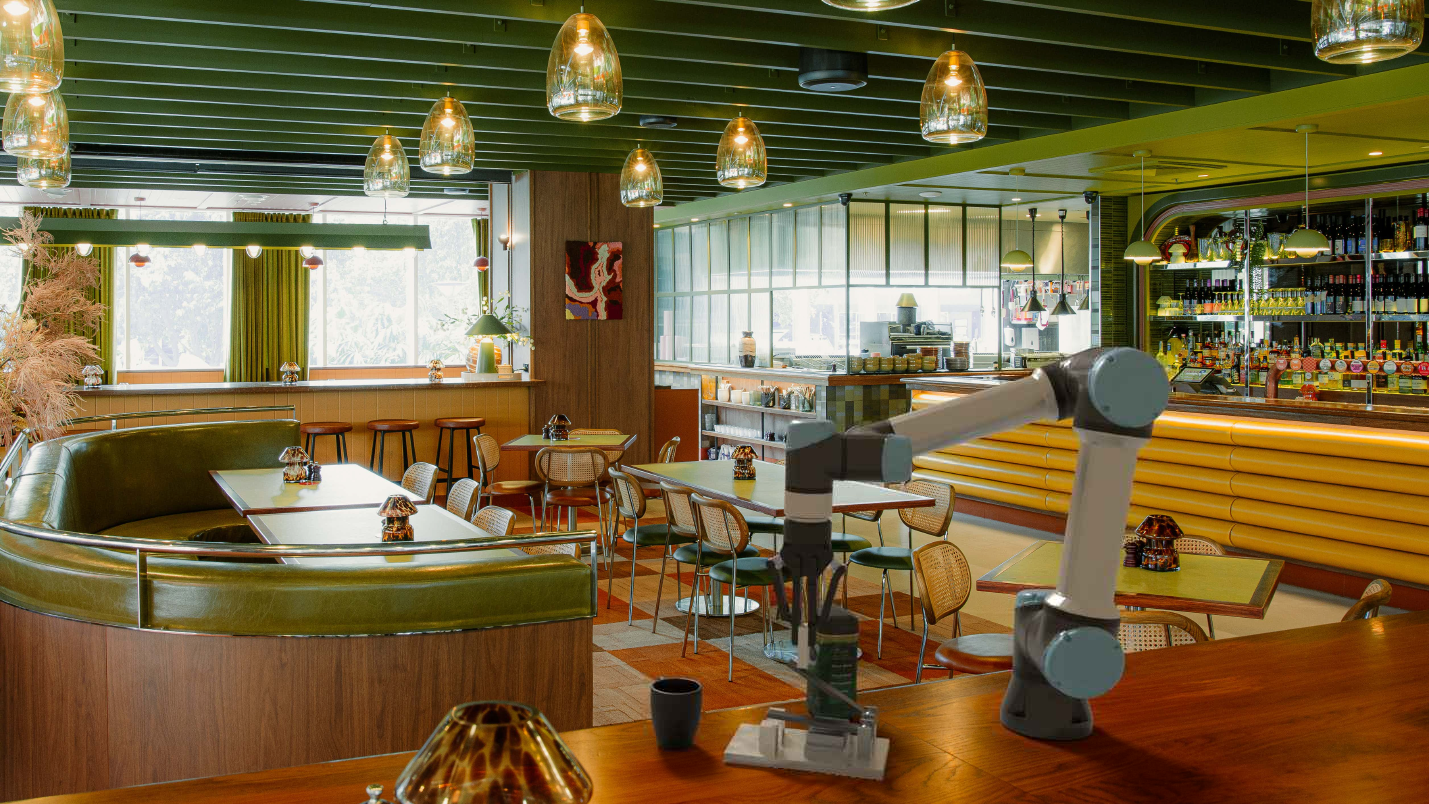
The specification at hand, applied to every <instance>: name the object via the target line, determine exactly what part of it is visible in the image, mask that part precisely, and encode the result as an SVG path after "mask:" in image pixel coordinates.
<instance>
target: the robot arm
mask: <svg viewBox="0 0 1429 804" xmlns="http://www.w3.org/2000/svg"><path fill="white" fill-rule="evenodd" d="M1170 397H1171V382H1170V378H1169V375H1168V373H1167V371H1166V369H1165V368H1164V367H1163V365H1162V363H1161V362H1159V360H1158V359H1157V358H1155V357H1154V356H1152V354H1150V353H1148V352H1145V351H1143V350H1140V349H1138V348H1134V347H1130V346H1095V347H1089V348H1086V349H1085V350H1081V351H1079V352H1076V353H1074V354H1071V355H1069V356H1067V357H1064V358H1062V359H1058V360H1055V361H1054V362H1051V363H1047V364H1044V365H1041V366H1037V367H1035V368H1034V370H1033V372H1032V374H1031V375H1030V376H1025V377H1023V378H1022V377H1021V378H1019V379H1016V380H1013V381H1010V382H1005V383H1003V384H1000V385H996V386H993V387H990V388H986V389H983V390H982V389H981V390H979V391H975V392H973V393H969V394H967V395H964V396H959V397H957V398H952V399H950V400H946V401H943V402H940V403H937V404H933V405H928V406H926V407H923V408H920V409H916V410H913V411H909V412H906V413H903V414H900V415H896V416H893V417H890V418H888V419H883V420H881V421H877V422H874V423H870V424H859V425H855V426H853V427H850V428H849V429H848V430H847V431H846V432H845V433H843V432H837V430H836V424H835V422H834V421H833V420H831V419H830V420H829V419H823V418H822V419H819V418H818V419H817V418H796V419H793V420H791V421H790V422H789V423H788V424H787V432H786V433H787V434H786V444H785V472H784V473H785V474H784V475H785V477H784V500H783V501H784V502H783V503H784V504H783V514H784V515H785V516H786V517H785V518H784V520H783V535H782V537H783V538H782V540H783V542H782V546H781V547H780V550H779V553H778V554H776V555H775V556H773V557H769V558H768V559H767V560H766V561H765V566H766V568H767V570H768V571H769V573H770V575H771V579H772V583H773V584H772V585H773V590H774V594H775V598H776V602H777V607H778V613H779V618H780V620H781V621H782V622H787V623H789V624H790V625H791V635H790V636H791V638H790V639H791V641H790V642H791V645H792V646H797V659H796V660H797V661H796V663H797V668H804V669H807V670H808V665H809V652H810V647H814V646H815V644H816V642H817V626H818V625H821V624H826V623H827V621H828V619H829V616H830V613H831V609H832V606H833V604H834V602H835V598H836V594H837V591H838V588H839V584H840V580H841V578H842V576H843V575H844V574H845V573H846V571H847V569H848V564H847V563H846V562H841V561H840V560H838V559H837V558H836V557H835V553H834V552H835V551H834V550H833V548H832V530H833V522H832V521H831V519H830V517H832V516H833V502H834V501H833V497H834V495H833V494H834V481H835V482H860V483H861V482H862V483H863V482H865V483H882V484H883V483H885V484H888V485H889V484H891V483H892V484H894V483H906V482H908V481H909V479H910V477H911V475H912V472H913V471H912V469H913V459H914V458H917V457H921V456H925V455H929V454H931V453H934V452H937V451H942V450H945V449H948V448H952V447H955V446H958V445H962V444H964V443H969V442H972V441H975V440H978V439H983V438H985V437H989V436H992V435H996V434H999V433H1002V432H1005V431H1009V430H1012V429H1016V428H1019V427H1023V426H1025V425H1030V424H1032V423H1037V422H1039V421H1044V420H1047V421H1049V422H1051V423H1053V424H1054V423H1057V422H1061V421H1064V420H1065V421H1066V420H1067V419H1068V420H1069V419H1073V421H1072V426H1071V427H1072V428H1071V429H1072V430H1073V432H1074V433H1075V434H1076V436H1077V437H1078V439H1079V441H1080V442H1079V447H1078V454H1077V460H1076V466H1075V472H1074V478H1073V485H1072V489H1071V497H1070V501H1069V502H1070V503H1069V508H1068V514H1067V515H1068V516H1067V521H1066V527H1065V531H1064V533H1065V534H1064V539H1063V547H1062V552H1061V558H1060V564H1059V570H1058V577H1057V583H1056V588H1055V589H1047V588H1046V589H1042V588H1041V589H1039V588H1038V589H1037V588H1035V589H1031V588H1030V589H1024V590H1021V591H1018V592H1017V594H1016V597H1015V601H1014V603H1015V604H1014V607H1013V611H1014V614H1013V615H1014V617H1013V648H1012V672H1011V678H1010V681H1009V684H1008V686H1007V689H1006V691H1005V694H1004V696H1003V699H1002V701H1001V704H1000V710H999V711H1000V712H999V721H1000V723H1001V724H1002V725H1003V726H1004V727H1006V728H1007V729H1009V730H1011V731H1013V732H1015V733H1018V734H1022V735H1025V736H1027V737H1031V738H1036V739H1042V740H1048V741H1049V740H1050V741H1072V740H1074V741H1075V740H1080V739H1084V738H1086V737H1089V736H1090V735H1091V734H1092V733H1093V730H1094V729H1093V728H1094V717H1093V716H1094V715H1093V713H1092V709H1091V705H1090V702H1089V699H1094V698H1097V697H1100V696H1102V695H1104V694H1106V693H1107V692H1109V691H1110V690H1112V689H1113V688H1114V687H1115V686H1116V685H1117V683H1118V682H1119V681H1120V679H1121V678H1122V675H1123V673H1124V669H1125V665H1126V664H1125V662H1126V659H1125V654H1124V651H1123V650H1124V649H1123V647H1122V644H1121V642H1120V641H1119V640H1118V639H1119V632H1120V627H1121V620H1122V614H1123V613H1122V612H1121V610H1120V609H1119V608H1118V607H1117V605H1116V604H1115V601H1114V599H1115V592H1116V588H1117V582H1118V581H1117V580H1118V576H1119V569H1120V563H1121V557H1122V551H1123V544H1124V539H1125V532H1126V527H1127V520H1128V516H1129V507H1130V502H1131V498H1132V497H1131V496H1132V491H1133V485H1134V479H1135V478H1134V477H1135V473H1136V466H1137V460H1138V454H1139V451H1140V449H1141V448H1142V447H1144V446H1145V445H1147V444H1148V443H1149V442H1151V440H1152V435H1153V429H1154V425H1155V423H1154V422H1155V420H1157V419H1158V418H1159V417H1160V416H1161V415H1162V414H1163V413H1164V411H1165V410H1166V409H1167V405H1168V403H1169V400H1170ZM782 562H783V563H784V565H785V567H786V568H787V569H788V571H789V572H790V574H791V575H792V576H791V577H792V579H791V581H792V590H791V591H792V592H791V593H792V598H791V608H790V606H789V605H790V604H789V600H788V596H787V590H786V586H785V582H784V576H783V572H782V567H783V563H782ZM829 566H831V568H830V573H831V574H832V576H831V578H830V581H829V584H828V588H827V591H826V595H825V599H824V602H823V604H822V605H823V609H822V613H821V615H818V605H819V592H820V591H819V587H820V586H819V585H820V576H821V575H822V574H823V573H824V572H825V570H826V569H827V568H828V567H829ZM804 577H806V578H808V607H807V622H802V620H803V617H802V611H803V609H802V608H803V586H804V585H803V584H804V583H803V580H804ZM790 609H791V611H790Z"/></svg>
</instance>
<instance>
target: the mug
mask: <svg viewBox="0 0 1429 804" xmlns="http://www.w3.org/2000/svg"><path fill="white" fill-rule="evenodd" d="M649 695H650V699H649V701H650V703H649V704H650V705H649V706H650V716H651V721H652V726H653V730H654V734H655V737H656V742H657V746H658V747H659V748H660V749H662V750H666V751H672V752H679V751H685V750H689V749H690V748H692V747H693V745H694V741H695V738H696V735H697V732H698V729H699V724H700V720H701V715H702V708H703V685H702V683H701V682H700V681H697V680H696V679H690V678H685V677H667V676H665V675H659V676H658V677H657V680H655V681H653V682H652V683H651V684H650V694H649Z"/></svg>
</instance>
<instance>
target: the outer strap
mask: <svg viewBox="0 0 1429 804" xmlns="http://www.w3.org/2000/svg"><path fill="white" fill-rule="evenodd" d="M768 710H769V711H768ZM768 710H767V712H768V713H767V712H766V719H767V718H771V719H777V720H783V721H785V722H789V723H790V722H791V723H794V724H795V723H796V724H800V725H801V724H802V725H806V726H810V725H811V726H817V727H823V728H828V729H834V730H840V731H845V732H851V733H850V734H852V733H853V734H857V733H858V727H867V728H871V729H872V727H871V725H870V724H869V723H867V722H865V723H863V724H862V725H860V723H859V724H857V723H853V722H849V723H848V722H842V721H836V720H830V719H825V718H819V717H814V715H813V716H812V715H807V714H799V713H795V712H790V711H785V712H784V711H779V710H773V709H768Z"/></svg>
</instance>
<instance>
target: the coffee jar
mask: <svg viewBox="0 0 1429 804" xmlns="http://www.w3.org/2000/svg"><path fill="white" fill-rule="evenodd" d="M823 605H824V604H818V615H821V613H822V609H823ZM859 622H860V620H859V617H858V616H856V615H855V614H854V613H852V612H851V611H849V610H847V609H846V608H843V607H841V606H839V605H838V604H834V603H833V606H832V609H831V613H830V616H829V619H828V621H827V623H826V624H821V625H818V626H817V642H816V644H815V646H814V647H810V652H809V665H808V667H807V670H808V671H810V672H811V673H813V674H814V675H816V676H817V677H819V678H820V679H822V680H823V681H825V682H826V683H827V684H829V685H830V686H832V687H833V688H835V689H836V690H838V691H839V692H841V693H842V694H844V695H845V696H847V697H848V698H850V699H851V700H853V701H854V702H856V703H857V702H858V701H857V700H858V699H857V698H858V695H857V694H858V693H857V692H858V688H857V687H858V680H857V679H858V647H859V646H858V645H859V637H860V623H859ZM805 693H806V694H805V696H806V697H805V705H806V708H807V709H808V711H809V712H810V713H811V714H812V715H813V717H814V716H817V717H827V718H837V719H846V720H850V719H852V718H855V717H856V715H857V713H855V712H854V711H852V710H851V709H849V708H848V707H846V706H845V705H843V704H842V703H840V702H839V701H837V700H836V699H835V698H833V697H832V696H830V695H829V694H827V693H826V692H824V691H823V690H821V689H820V688H818V687H817V686H815V685H814V684H812V683H811V682H809V681H808V680H807V679H806V691H805ZM857 704H858V703H857Z"/></svg>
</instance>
